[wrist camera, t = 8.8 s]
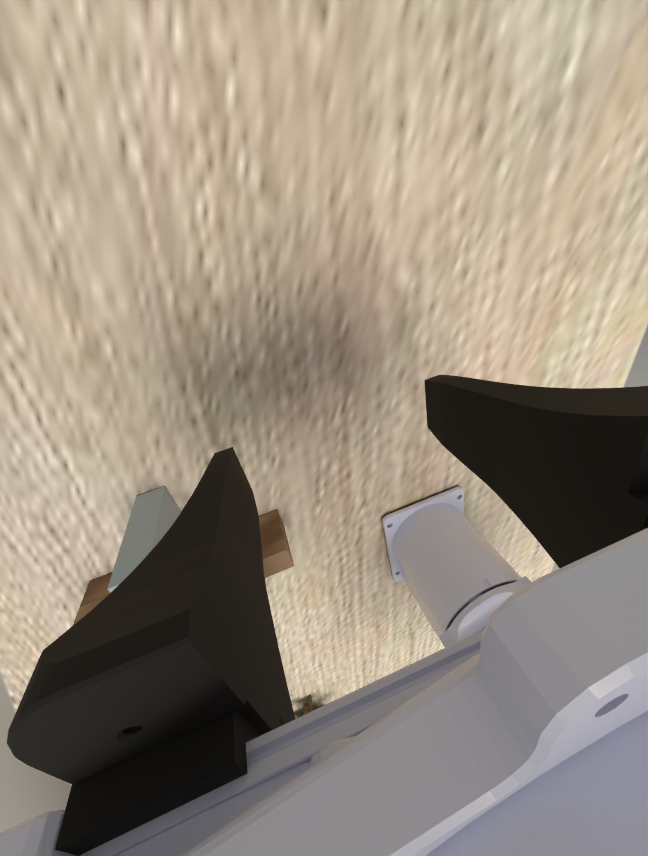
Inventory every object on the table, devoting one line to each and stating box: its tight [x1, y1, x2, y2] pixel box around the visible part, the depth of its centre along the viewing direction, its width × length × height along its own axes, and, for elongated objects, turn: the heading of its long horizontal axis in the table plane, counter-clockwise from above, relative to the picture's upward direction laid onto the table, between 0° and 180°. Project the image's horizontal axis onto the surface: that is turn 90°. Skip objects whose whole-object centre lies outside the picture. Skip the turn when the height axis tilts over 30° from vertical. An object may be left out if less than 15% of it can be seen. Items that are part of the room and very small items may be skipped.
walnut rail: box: [73, 510, 294, 625], centre depth 23 cm, size 14×2×4 cm, turn 103°
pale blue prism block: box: [107, 486, 181, 593], centre depth 22 cm, size 12×2×7 cm, turn 13°
